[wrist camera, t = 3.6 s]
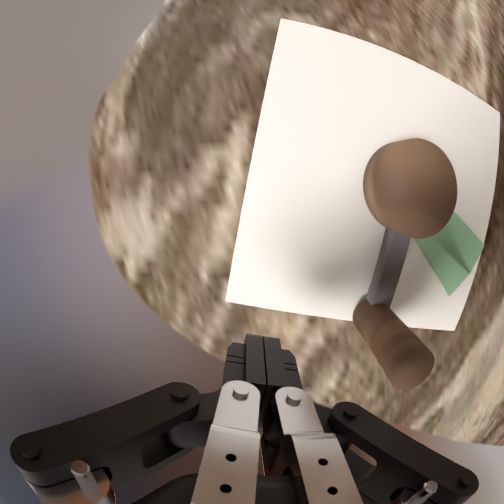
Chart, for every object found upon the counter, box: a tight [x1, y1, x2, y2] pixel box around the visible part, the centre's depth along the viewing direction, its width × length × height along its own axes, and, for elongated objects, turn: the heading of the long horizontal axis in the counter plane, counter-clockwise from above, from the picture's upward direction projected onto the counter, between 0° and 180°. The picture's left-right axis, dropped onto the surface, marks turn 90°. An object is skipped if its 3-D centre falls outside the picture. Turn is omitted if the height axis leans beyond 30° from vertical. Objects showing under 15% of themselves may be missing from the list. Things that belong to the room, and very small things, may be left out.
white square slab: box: [226, 19, 500, 331], centre depth 19 cm, size 20×20×3 cm
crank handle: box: [352, 138, 457, 390], centre depth 14 cm, size 13×6×7 cm, turn 169°
